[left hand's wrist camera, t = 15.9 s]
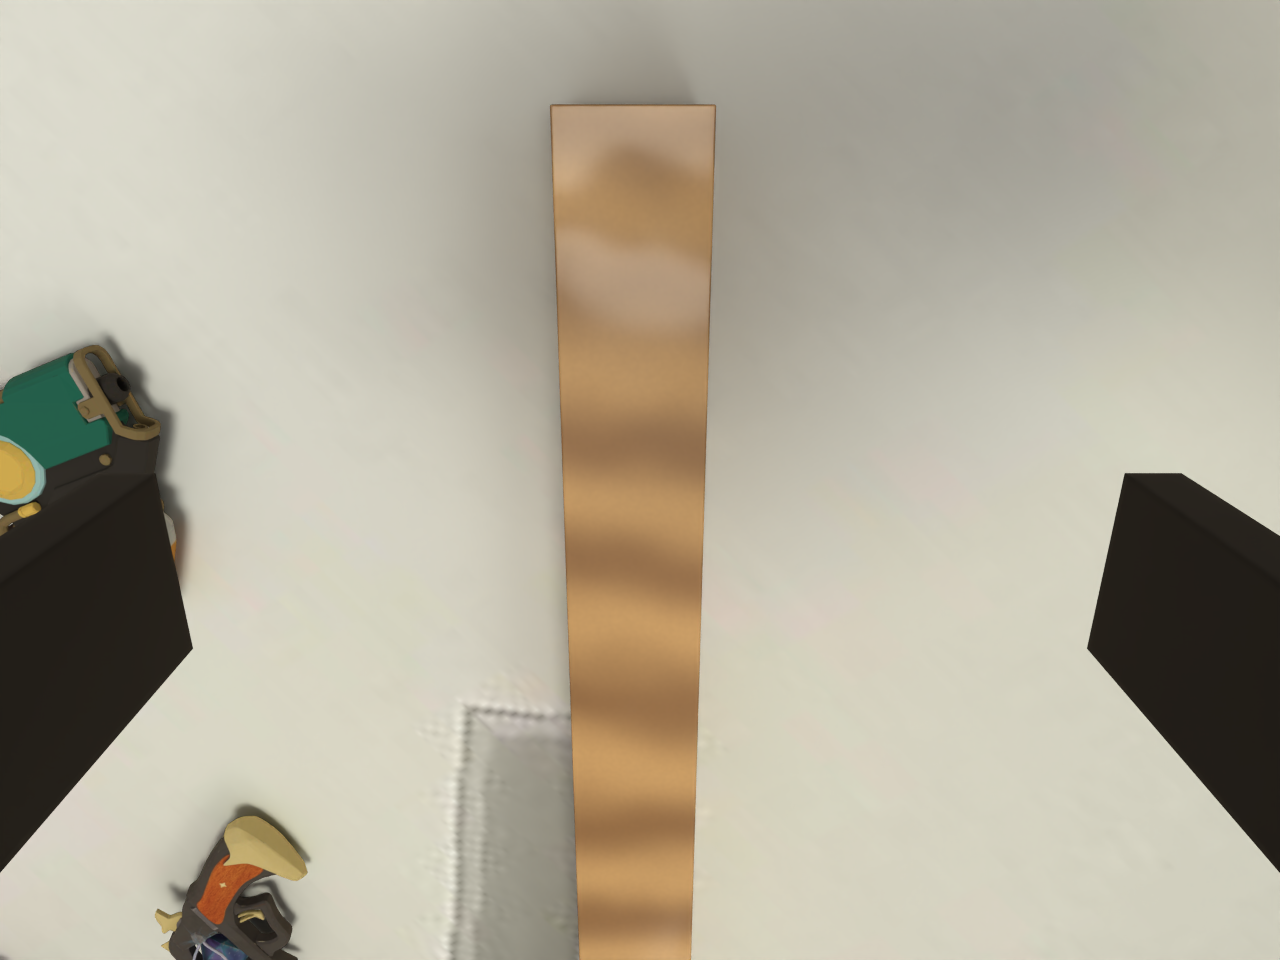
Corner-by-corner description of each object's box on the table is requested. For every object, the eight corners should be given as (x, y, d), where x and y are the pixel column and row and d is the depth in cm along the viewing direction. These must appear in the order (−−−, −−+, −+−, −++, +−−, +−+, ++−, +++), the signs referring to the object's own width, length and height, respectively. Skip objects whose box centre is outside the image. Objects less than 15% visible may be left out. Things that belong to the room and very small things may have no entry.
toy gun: (245, 830, 48) (89, 912, 49) (434, 1024, 56) (297, 1093, 56) (258, 795, 51) (109, 873, 51) (437, 985, 58) (306, 1052, 59)
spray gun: (-64, 638, 47) (-176, 361, 42) (237, 622, 46) (158, 333, 41) (-133, 683, 43) (-267, 382, 38) (193, 667, 42) (100, 353, 37)
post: (566, 108, 37) (549, 104, 30) (699, 108, 37) (716, 104, 30) (596, 1184, 64) (592, 1325, 56) (674, 1184, 64) (680, 1324, 57)
